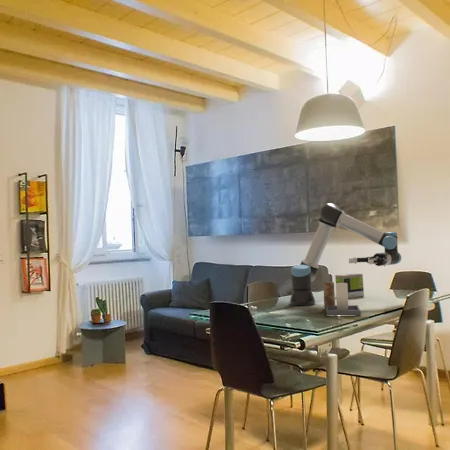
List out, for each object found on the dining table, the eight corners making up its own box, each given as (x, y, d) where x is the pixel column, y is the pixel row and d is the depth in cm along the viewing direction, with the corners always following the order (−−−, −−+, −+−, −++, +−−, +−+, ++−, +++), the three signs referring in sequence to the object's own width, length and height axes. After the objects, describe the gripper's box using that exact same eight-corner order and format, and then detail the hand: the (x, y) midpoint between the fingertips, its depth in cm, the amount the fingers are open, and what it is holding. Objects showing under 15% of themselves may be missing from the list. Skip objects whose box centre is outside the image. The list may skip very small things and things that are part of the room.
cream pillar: (337, 312, 263) (335, 284, 263) (336, 310, 268) (335, 283, 269) (348, 312, 261) (347, 284, 262) (348, 310, 267) (347, 282, 267)
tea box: (355, 294, 336) (354, 272, 336) (364, 296, 326) (363, 273, 327) (336, 296, 330) (335, 274, 330) (344, 298, 321) (343, 275, 321)
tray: (326, 316, 258) (326, 310, 258) (326, 311, 275) (326, 305, 275) (360, 316, 255) (360, 310, 255) (358, 310, 272) (357, 305, 272)
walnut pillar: (324, 309, 279) (323, 283, 280) (324, 308, 285) (323, 282, 286) (335, 309, 278) (334, 282, 279) (335, 308, 284) (333, 281, 284)
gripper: (400, 266, 283) (378, 269, 270) (364, 264, 303) (341, 267, 290) (400, 253, 283) (378, 255, 270) (363, 252, 303) (341, 254, 290)
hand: (359, 261), depth 280 cm, fingers open, 13 cm apart
